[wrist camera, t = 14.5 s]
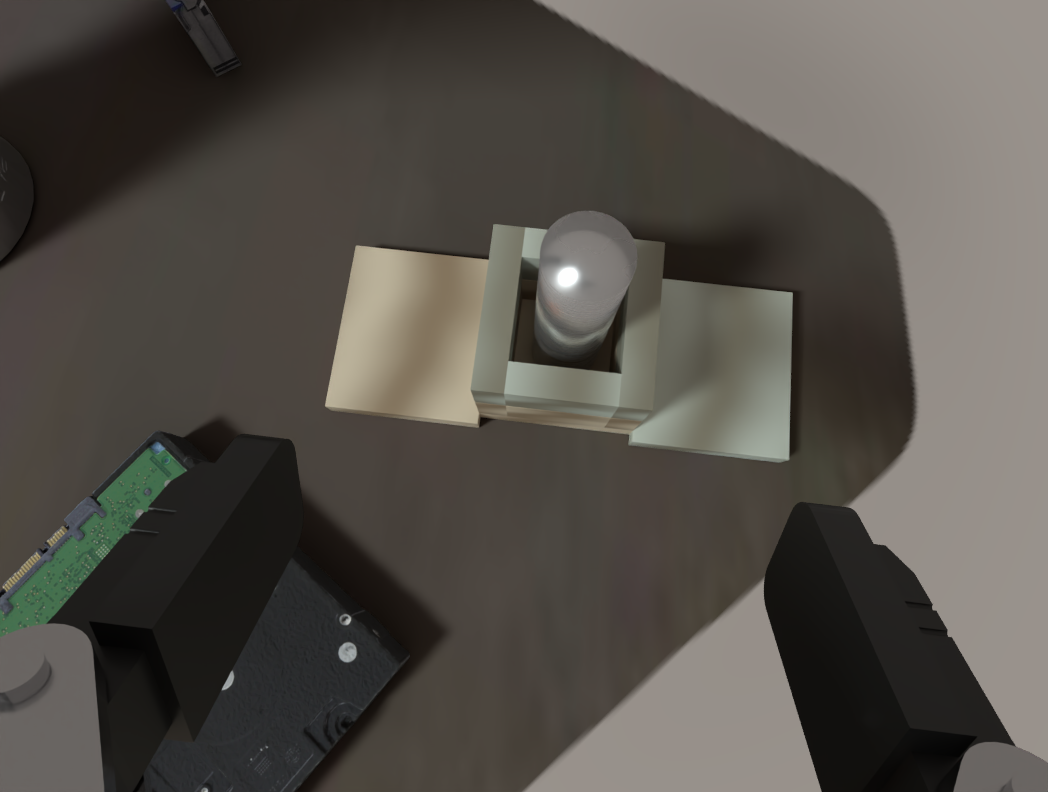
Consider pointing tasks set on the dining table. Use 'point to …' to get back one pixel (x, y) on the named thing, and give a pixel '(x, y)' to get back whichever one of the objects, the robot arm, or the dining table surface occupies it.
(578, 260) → the hinge pin
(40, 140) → the dining table surface
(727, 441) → the hinge leaves
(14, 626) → the disk drive
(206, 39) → the mini dv tape
